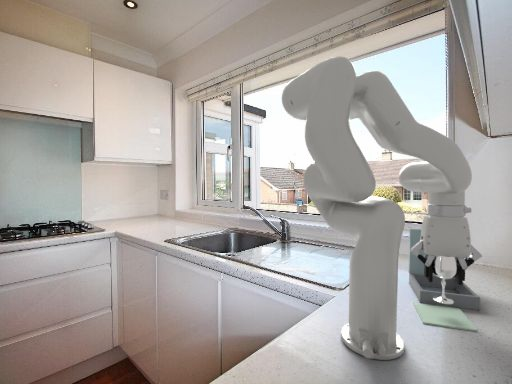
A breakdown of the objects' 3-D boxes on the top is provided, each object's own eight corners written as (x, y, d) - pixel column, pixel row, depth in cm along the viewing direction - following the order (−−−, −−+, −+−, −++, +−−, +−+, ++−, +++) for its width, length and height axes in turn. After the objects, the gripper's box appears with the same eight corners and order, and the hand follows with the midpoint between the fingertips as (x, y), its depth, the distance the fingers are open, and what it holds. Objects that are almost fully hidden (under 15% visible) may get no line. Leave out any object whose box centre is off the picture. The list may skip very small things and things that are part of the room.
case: (479, 310, 73) (482, 242, 72) (419, 302, 78) (421, 238, 77) (456, 287, 88) (458, 230, 87) (408, 282, 93) (409, 228, 92)
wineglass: (427, 300, 70) (428, 254, 69) (432, 293, 74) (434, 249, 73) (454, 307, 66) (456, 258, 65) (459, 300, 70) (460, 254, 69)
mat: (477, 331, 63) (477, 330, 63) (423, 323, 66) (423, 322, 66) (459, 309, 73) (459, 308, 73) (413, 303, 77) (413, 302, 77)
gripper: (480, 210, 69) (477, 280, 70) (404, 208, 75) (403, 273, 76) (495, 214, 62) (492, 292, 63) (410, 212, 68) (408, 283, 69)
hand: (443, 281), depth 69 cm, fingers closed on wineglass, 5 cm apart
